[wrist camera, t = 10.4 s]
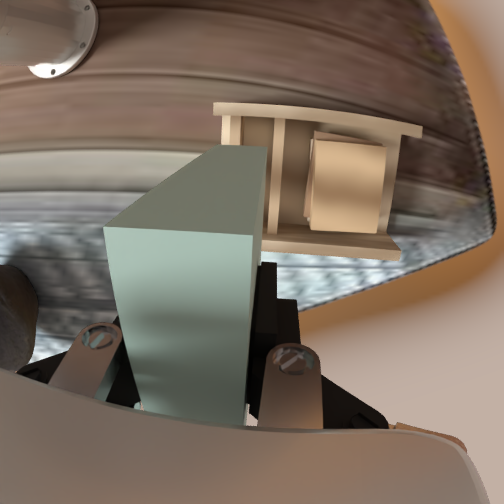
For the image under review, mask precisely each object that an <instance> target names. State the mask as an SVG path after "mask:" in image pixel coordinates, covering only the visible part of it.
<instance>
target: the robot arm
mask: <svg viewBox="0 0 504 504" xmlns="http://www.w3.org/2000/svg"><path fill="white" fill-rule="evenodd" d="M97 29H98V12H97V9H96V6H95V4H94V3H93V2H92V1H91V0H0V65H5V66H28V68H29V69H30V71H31V72H32V73H33V74H34V75H36V76H38V77H41V78H57V77H60V76H63V75H65V74H67V73H68V72H70V71H72V70H73V69H74V68H75V67H76V66H77V65H79V63H80V62H81V61H82V60H83V59H84V58H85V56H86V55H87V53H88V52H89V50H90V48H91V46H92V44H93V42H94V40H95V37H96V34H97ZM320 368H321V367H320V360H319V357H318V355H317V354H316V353H315V352H314V351H313V350H312V349H310V348H309V347H306V346H304V345H301V341H300V330H299V320H298V308H297V300H294V299H279V298H277V263H274V262H261V266H260V265H258V266H257V275H256V284H255V293H254V302H253V312H252V321H251V330H250V344H249V361H248V379H247V396H246V404H250V407H249V414H251V415H252V416H254V417H255V418H256V419H257V420H258V424H257V426H246V425H235V424H225V423H217V422H209V421H202V420H194V419H188V418H181V417H175V416H169V415H164V414H158V413H153V412H148V411H143V410H140V408H141V402H140V401H141V399H140V395H139V392H138V389H137V385H136V382H135V379H134V375H133V372H132V368H131V364H130V361H129V357H128V353H127V349H126V345H125V341H124V337H123V333H122V329H121V324H120V320H119V315H118V316H117V317H116V319H115V320H114V322H113V323H112V324H111V323H105V322H100V323H95V324H92V325H89V326H87V327H86V328H84V329H83V330H82V331H81V332H80V333H79V334H78V336H77V337H76V339H75V341H74V342H73V344H72V345H71V347H70V348H69V350H68V351H66V352H63V353H60V354H57V355H54V356H51V357H48V358H45V359H42V360H39V361H36V362H34V363H31V364H28V365H26V366H23V367H22V368H21V369H19V370H18V371H17V372H16V373H15V371H14V370H10V371H8V370H5V369H2V368H0V504H490V502H489V499H488V496H487V493H486V490H485V487H484V485H483V482H482V480H481V478H480V475H479V473H478V471H477V469H476V468H475V466H474V464H473V462H472V461H471V459H470V457H469V456H468V455H467V449H466V447H465V445H464V443H463V442H462V441H460V440H459V439H458V438H456V437H453V436H450V435H446V434H442V433H437V432H433V431H429V430H424V429H421V428H417V427H413V426H410V425H406V424H402V423H398V422H397V423H396V425H391V424H388V422H387V420H386V419H385V417H384V416H383V415H381V413H379V412H378V411H377V410H375V409H373V408H372V407H370V406H369V405H367V404H365V403H364V402H362V401H361V400H359V399H358V398H356V397H355V396H353V395H351V394H350V393H349V392H347V391H345V390H344V389H342V388H341V387H339V386H338V385H336V384H335V383H333V382H332V381H330V380H329V379H327V378H326V377H324V376H323V375H321V369H320Z"/></svg>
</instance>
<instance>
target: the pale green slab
mask: <svg viewBox="0 0 504 504" xmlns="http://www.w3.org/2000/svg"><path fill="white" fill-rule="evenodd" d="M266 163H267V147H262V146H243V145H216V146H214V147H213V148H211V149H209V150H208V151H206V152H205V153H203V154H202V155H200V156H199V157H197V158H196V159H194V160H193V161H191V162H190V163H188V164H187V165H186V166H184V167H183V168H181V169H180V170H178V171H177V172H175V173H174V174H173V175H171V176H170V177H168V178H167V179H165V180H164V181H163V182H161V183H160V184H158V185H157V186H156V187H154V188H153V189H152V190H150V191H149V192H148V193H146V194H145V195H143V196H142V197H141V198H139V199H138V200H137V201H135V202H134V203H133V204H132V205H130V206H129V207H128V208H126V209H125V210H124V211H122V212H121V213H120V214H119V215H117V216H116V217H115V218H113V219H112V220H111V221H110V222H108V223H107V224H106V225H105V226H103V229H104V236H105V243H106V250H107V257H108V263H109V269H110V275H111V280H112V286H113V291H114V296H115V301H116V306H117V311H118V315H119V320H120V324H121V329H122V333H123V337H124V341H125V345H126V349H127V353H128V357H129V361H130V364H131V368H132V372H133V375H134V379H135V382H136V385H137V389H138V392H139V395H140V399H141V402H142V405H143V408H144V411H148V412H153V413H158V414H164V415H169V416H175V417H181V418H188V419H194V420H202V421H209V422H217V423H225V424H235V425H246V420H247V410H248V404H246V396H247V379H248V361H249V344H250V330H251V321H252V312H253V302H254V293H255V284H256V275H257V266H258V265H260V260H261V245H262V229H263V213H264V197H265V180H266Z"/></svg>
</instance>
